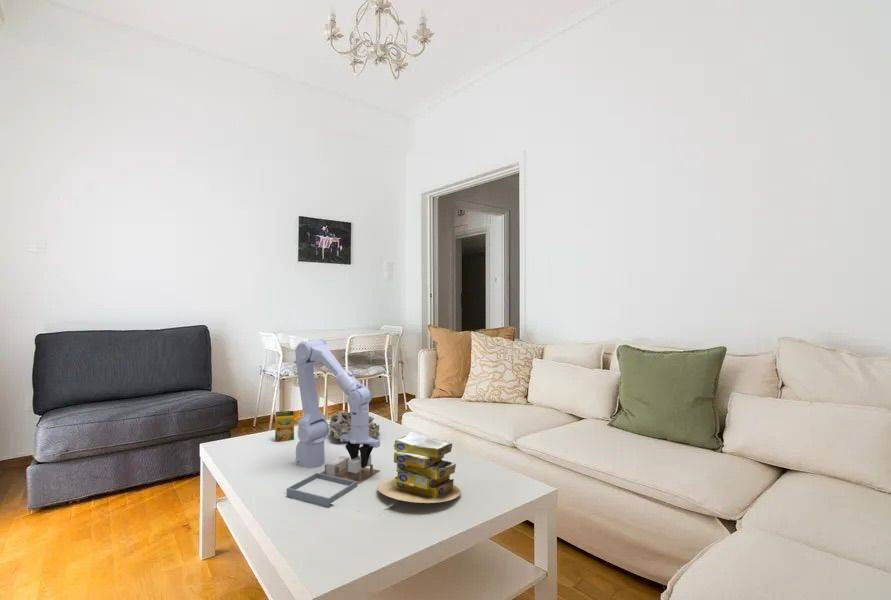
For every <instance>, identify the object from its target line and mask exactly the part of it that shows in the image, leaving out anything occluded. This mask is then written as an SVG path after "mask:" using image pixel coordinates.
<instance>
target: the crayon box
mask: <svg viewBox="0 0 891 600" xmlns="http://www.w3.org/2000/svg"><path fill="white" fill-rule="evenodd" d="M284 413H286V414H284ZM294 413H295V410H284V411H276V412H275V421H274V423H275V425H274V426H275V427H274V428H275V429H274V432H275V433H274V435H275V436H274V437H275V438H274V441H275V442H284V441H294V440H295V415H294Z"/></svg>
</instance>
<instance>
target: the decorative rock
mask: <svg viewBox="0 0 891 600" xmlns="http://www.w3.org/2000/svg"><path fill="white" fill-rule="evenodd" d="M374 420H375V419H374V417H372V416H369V437H371V438H374V439H376V438H377V437H379V436H380V432H379V431H380V424H377V423H375V422H373V421H374ZM328 425H329V430H330V436H331V437H333V438H335V439H337V440H338V439H339V440H340V436H341V435H343V434H347V435H351V411H345V412H341V411H337V412H335V413H334V414H332V415H331V416H330V421H329V423H328Z"/></svg>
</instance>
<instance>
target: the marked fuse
mask: <svg viewBox="0 0 891 600" xmlns="http://www.w3.org/2000/svg"><path fill="white" fill-rule="evenodd" d="M371 464H372V453H371V454H370V456H369V460H368V464H367V466H366V467H365V468H368V467H370V465H371ZM361 469H364V468H362V466H361V454H359V456H358V457H356V458H354V459H353V460H352V459H351V458H350V460H349V461H348V472H353V473H358V472H359V471H360V470H361Z"/></svg>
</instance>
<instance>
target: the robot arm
mask: <svg viewBox="0 0 891 600" xmlns="http://www.w3.org/2000/svg"><path fill="white" fill-rule="evenodd" d="M294 352H295V359H296V362H295V363H296V365H295V366H296V372H297V373H296V374H297V378H298V380H297V381H298V387H299V394H300V399H301V405H302V406H301V407H302V413H303V415H302V416H301V417H300V418H299V420H298V422H297V426H298V428H297V429H298V430H297V437H298V440H299V441H298V442H297V444H296V447H295V465H298V466H302V467H304V468H306V469H307V468H308V469H315V468H318V467H322V466H323V465H324V466H325V440H326V439H327V437H326V436H328V435H329V432H330V429H329V425H328V424H329V423H328V422H327V418H326V415H325V414H324V413H322V412H321V411H320V406H319V397H318V392H317V385H316V378H315V372H314V371H315V370H314V367H315V366H316V365H317V363H318V362H319V363H322V365H324V366H325V368H327V370H329V371H330V372H331V373H332V375H333V376H335V383H336V384H337V386H338V387H339V388H340V389H341V390H342V392H343V393H344V395H346V402H347V404H348V406H349V412H351V435H347V434H343V435H341V436H340V439H339V440H340V442H341V443H342V442H346V443H347V444H345V449H346V450H347V452H348V454H349V457H350V460H351V459H352V460H353V459H354V458H356V457H358V456H360V454H361V466H362V468H367V467H368V466H367V464H368V460H369V456H370V454H371V455H372V451H373V449H374V448H375V449H378V448H379V447H380V446H381V440H380V439H376V438H375V439H374V438H371V437H369V417H370V416H369V414H370V412H369V408H370V407H369V405H370V404H369V403H371V401H372V399H373V392H372V390H371V389H370V387H369V386H367V385H364V384H361V382H360V381H359V380H358V379H357V378H356V377H355V376H354V373H353V372H352V371H350V370H344V368H343V367H342V365H341V364H340V362H339V361H338V359H337V358H336V357H335V355H334V354H333V353H332V352H331V346H330V345H329V344H328V343H327V341H326V340H325V339H315V340H308V341H301V342H299V343H298V344H297V346H296V347H295V349H294ZM360 445H362V446H360ZM359 453H360V454H359ZM366 466H367V467H366Z"/></svg>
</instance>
